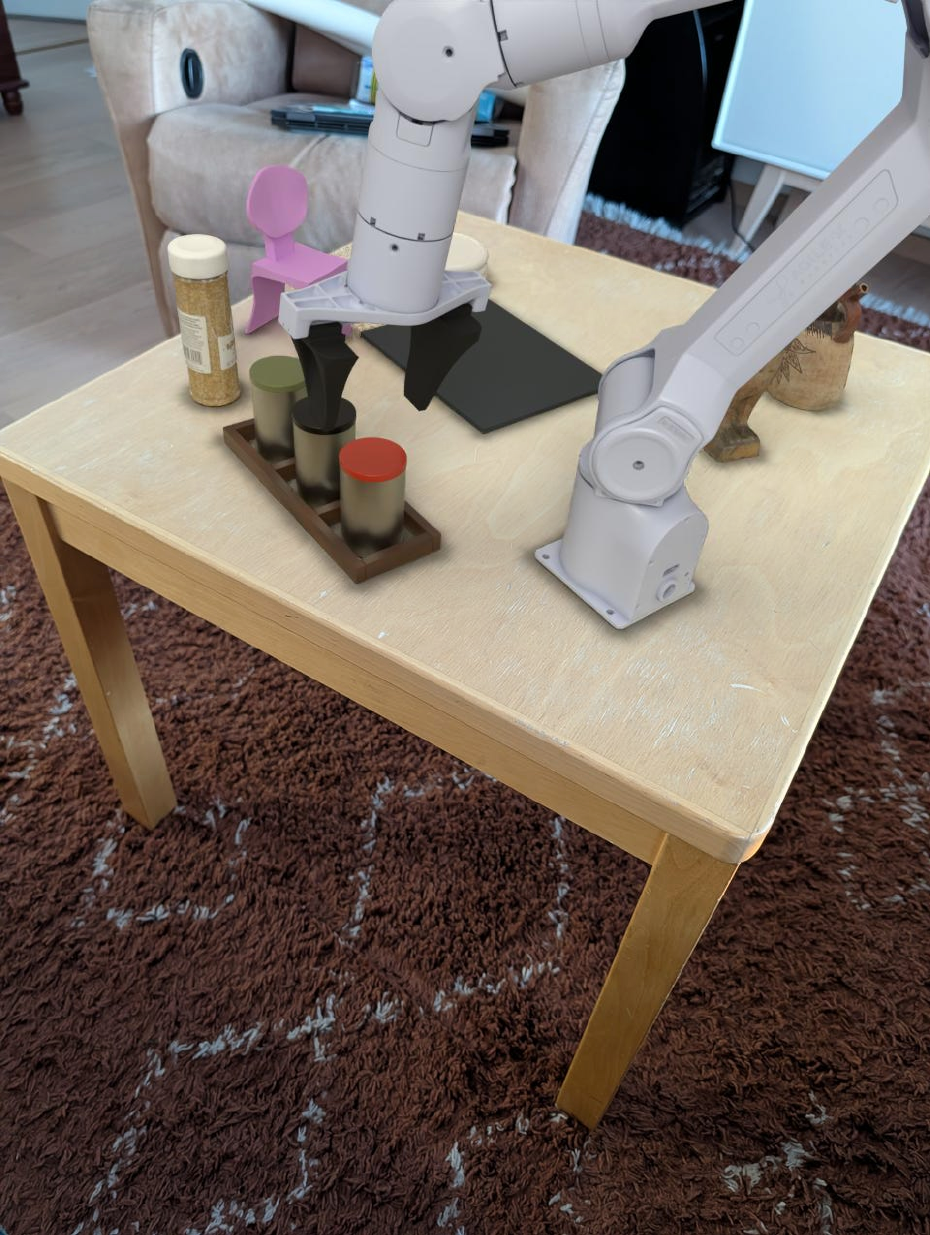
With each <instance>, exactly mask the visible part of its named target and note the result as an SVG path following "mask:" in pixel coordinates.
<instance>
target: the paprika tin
mask: <svg viewBox="0 0 930 1235" xmlns="http://www.w3.org/2000/svg"><path fill="white" fill-rule="evenodd" d="M407 462H408V455H407V453H406V450H405V449H404V448H403V447H402V446H401V445H400V444H399V443H397V442H395V441H393V440H390V439H388V438H384V437H378V436H365V437H359V438H356V439H355V440H353V441H351V442H349V443H347V444H346V445H344V446H343V448H342V449H341V451H340V453H339V464H340V495H341V522H340V539H341V540H342V541H343V542H344V543H345V544H346V545H347V546H348V547H349V548H350V549H351V550H352V551H353V552H354V554H355V555H356V556H357V557H358V558H359V557H360V558H364V557H367V556H369V555H371V554H374V553H376V552H379V551H381V550H384V549H386V548H389V547H391V546H394V545H396V544H399V543H401V542H404V525H403V523H404V500H405V498H406V476H407V474H406V473H407V464H408V463H407Z"/></svg>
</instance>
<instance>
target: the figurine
mask: <svg viewBox="0 0 930 1235" xmlns="http://www.w3.org/2000/svg"><path fill="white" fill-rule="evenodd" d="M868 292H869V286H868V285H867V284H866V283H864V282H860V283H859V284H857V282H856V283H855V284H854V285H853V286H852V287H851V288H849V289H848V290H847V291H846V292H845V293H844V294H843V295H842V296H841V297H840V298H838V299H837V300H836V301H835V302H834V303H833V304H832V305H831V306H830V307H829V308H828V309H826V310H825V311H824V312H823V313H822V314H821V315H820V316H819V317H818V318H817V319H815V320H814V321H813V322H812V323H811V324H810V325H809V326H808V327H807V328H806V329H804V330H803V331H802V332H801V333H800V334H799V335H798V336H797V337H796V338H795V339H794V340H792V341H791V342H790V343H789V344H788V345H787V346H786V347H785V348H784V349H783V359H782V362H781V364H780V367H779V370H778V372H777V374H776V376H775V378H774V379H773V381H772V382H771V383H770V385H769V386H768V388H767V389H766V391H767V392H768V394H770V396H771V397H772V398H774V399H776V400H777V401H779V402H780V403H783V404H785V405H787V406H789V407H793V408H797V409H801V410H805V411H817V412H818V411H825V410H828V409H831V408H833V407H834V406H835V405H836V404H837V403H838V401H839V400H840V399H841V397H842V396H843V394H844V392H845V388H846V385H847V381H848V377H849V372H850V369H851V363H852V358H853V353H854V346H855V332H856V330H858V327H859V326H860V323H861V320H862V316H863V310H862V304H861V302H860V300H861V299H862V298H863V297H865V296H866V295H867V294H868Z"/></svg>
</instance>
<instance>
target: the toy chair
mask: <svg viewBox="0 0 930 1235" xmlns="http://www.w3.org/2000/svg"><path fill="white" fill-rule="evenodd" d="M308 191H309V190H308V183H307V180H306V178H305V176H304V175H303V173H301V172H300V171H299V170H297V169H295V168H293V167H291V166H287V165H281V164H271V165H267V166H264V167H262V168H260V169H259V170H258V171H257V172H256V174H255V175H254V176H253V178H252V180H251V184H250V187H249V189H248V193H247V196H246V205H245V212H246V213H245V214H246V217H247V220H248V222H249V224H250V225H251V226H252V227H253V228H254V229H255V230H257V231H258V232H260V233H261V234H262V237H263V243H264V248H265V255H266V256H265V257H262V258H260V259H258V260H255V261H254V262H252V263H251V272H252V273H251V274H250V276H249V283H250V287H251V292H252V308H251V312H250V315H249V318H248V322H247V325H246V327H245V329H244V334H247V335H248V334H250V333H252V332H254V331H255V330H257V329H259V328H261V327H262V326H264V325H266V324H267V323H269V322H271V321H273V320H274V319H276V318H277V317H279V306H280V296H281V293H283V292H286V285H287V286H290V287H292V288H293V289H296V290H299V289H302V288H305V287H308V286H310V285H313V284H315V283H318V282H320V281H322V280H325V279H327V278H330V277H332V276H335V275H337V274H339V273H342V272H344V271H347V263H348V259H347V258H344V257H341V256H338V255H334V254H330V253H326V252H323V251H320V250H317V249H314V248H312V247H310V246H307V245H306V244H302V243H300V242H296V241H294V239H293V238H294V237H293V236H294V231H295V230H296V229H297V228H298V227H299V226H300V225H301V224H302V223H303V221H304V220H305V219H306V218H307V212H308V198H309V197H308V195H309V194H308V193H309V192H308ZM342 333H343V334H345V335H346V338H345V339H347V338H348V337H350V336H351V335H352V324H350V325H343V326H342Z"/></svg>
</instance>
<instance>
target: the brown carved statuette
mask: <svg viewBox="0 0 930 1235" xmlns="http://www.w3.org/2000/svg"><path fill="white" fill-rule="evenodd" d="M782 359H783V350H781V351H780V352H779V353H778V354H777V355H776V356H775V357H774V358H773V359H772V360H771V361H769V362H768V363H767V364H766V365H765V366H764V367H763V368H762V369H761V370H760V371H758V372H757V373H756V374H755V375H754V376H753V377H752V378H751V379H750V380H749V381H748V382H746V383H745V384H744V385H743V386H742V387H741V388H740V389H739V390H738V391H737V392H736V394H735V395H734V397H733V399H732V401H731V403H730V405H729V407H728V409H727V411H726V414H725V416H724V418H723V420H722V422H721V424H720V426H719V428H718V430H717V432H716V434H715V436H714V437H713V439H712V440H711V441H710V442H709V443H708V444H707V445H706V446H704V447H703V448H702V449H703V450H704V451H705V452H707V454H709V456H710V457H711V458H713V459H714V460H715V461H716V462H718V463H724V462H729V461H736V460H742V459H743V460H744V459H747V458H750V459H751V458H755V457H759V455H760V449H761V439H760V437H759V436H758V434H757V433H756V432H755V431H754V430H753V429H752V428H750V426H749V425H748V421H749V418H750V416H751V414H752V412H753V410H754V408H755V407H756V405H757V403H758V402H760V401H759V400H760V399H761V398H762V396H763V395H764V393H765V392H766V391H767V388H768V386H769V385H770V383H771V382H772V381H773V379H774V378H775V376H776V374H777V372H778V370H779V367H780V364H781V362H782Z"/></svg>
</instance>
